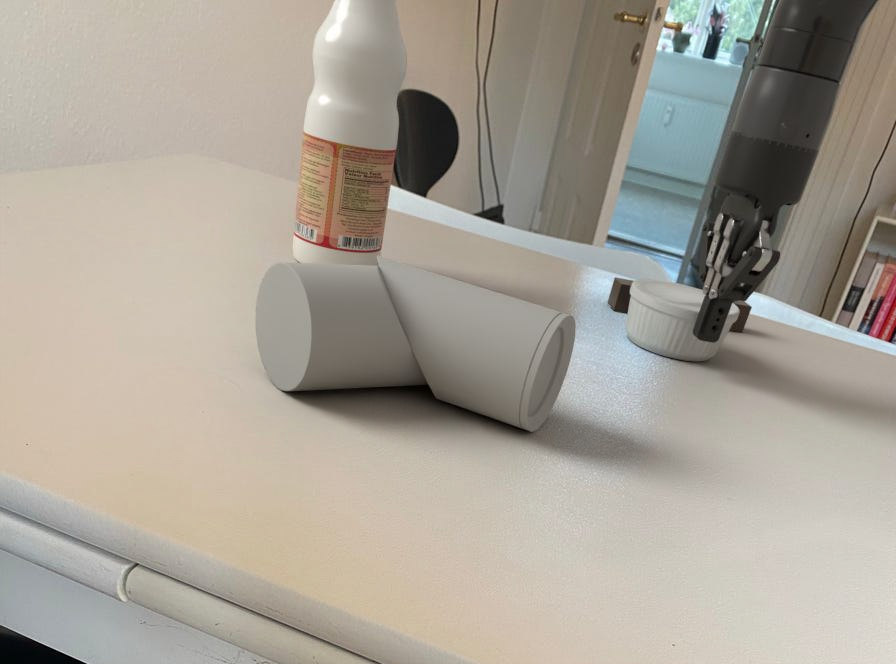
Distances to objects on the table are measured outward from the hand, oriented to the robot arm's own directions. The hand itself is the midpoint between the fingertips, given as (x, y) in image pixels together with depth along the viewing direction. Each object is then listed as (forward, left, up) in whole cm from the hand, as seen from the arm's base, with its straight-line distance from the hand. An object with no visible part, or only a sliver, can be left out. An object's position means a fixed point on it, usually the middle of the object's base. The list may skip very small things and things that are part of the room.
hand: (704, 339), depth 87 cm
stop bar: (-5, -21, -3) cm, 22 cm away
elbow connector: (+29, +19, -3) cm, 35 cm away
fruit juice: (+35, -19, -3) cm, 40 cm away
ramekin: (0, -8, -3) cm, 8 cm away
